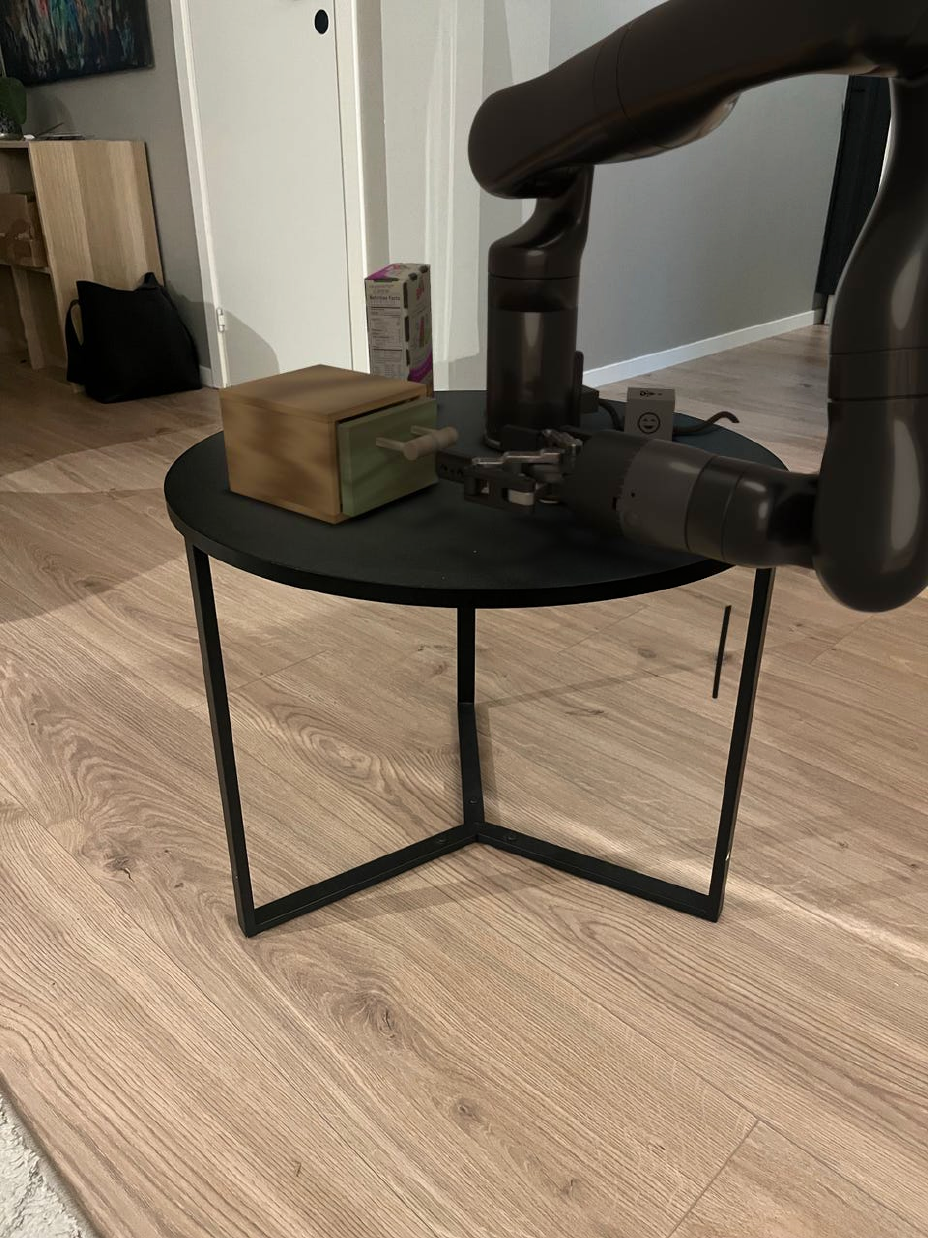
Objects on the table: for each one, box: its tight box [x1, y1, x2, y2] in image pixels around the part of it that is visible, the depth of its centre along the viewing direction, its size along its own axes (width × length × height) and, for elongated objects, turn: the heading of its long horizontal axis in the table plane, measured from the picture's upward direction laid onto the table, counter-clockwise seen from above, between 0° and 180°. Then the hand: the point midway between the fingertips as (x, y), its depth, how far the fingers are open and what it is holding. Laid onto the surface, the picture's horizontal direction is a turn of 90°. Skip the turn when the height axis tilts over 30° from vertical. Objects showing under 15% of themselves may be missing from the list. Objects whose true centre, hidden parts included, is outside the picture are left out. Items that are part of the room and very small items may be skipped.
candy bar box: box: [363, 262, 435, 398], centre depth 107 cm, size 11×5×16 cm, turn 168°
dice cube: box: [624, 386, 676, 442], centre depth 102 cm, size 5×5×5 cm
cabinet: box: [218, 363, 427, 525], centre depth 87 cm, size 14×13×10 cm
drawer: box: [334, 397, 460, 518], centre depth 85 cm, size 17×11×8 cm, turn 52°
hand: (470, 449), depth 77 cm, fingers open, 8 cm apart
